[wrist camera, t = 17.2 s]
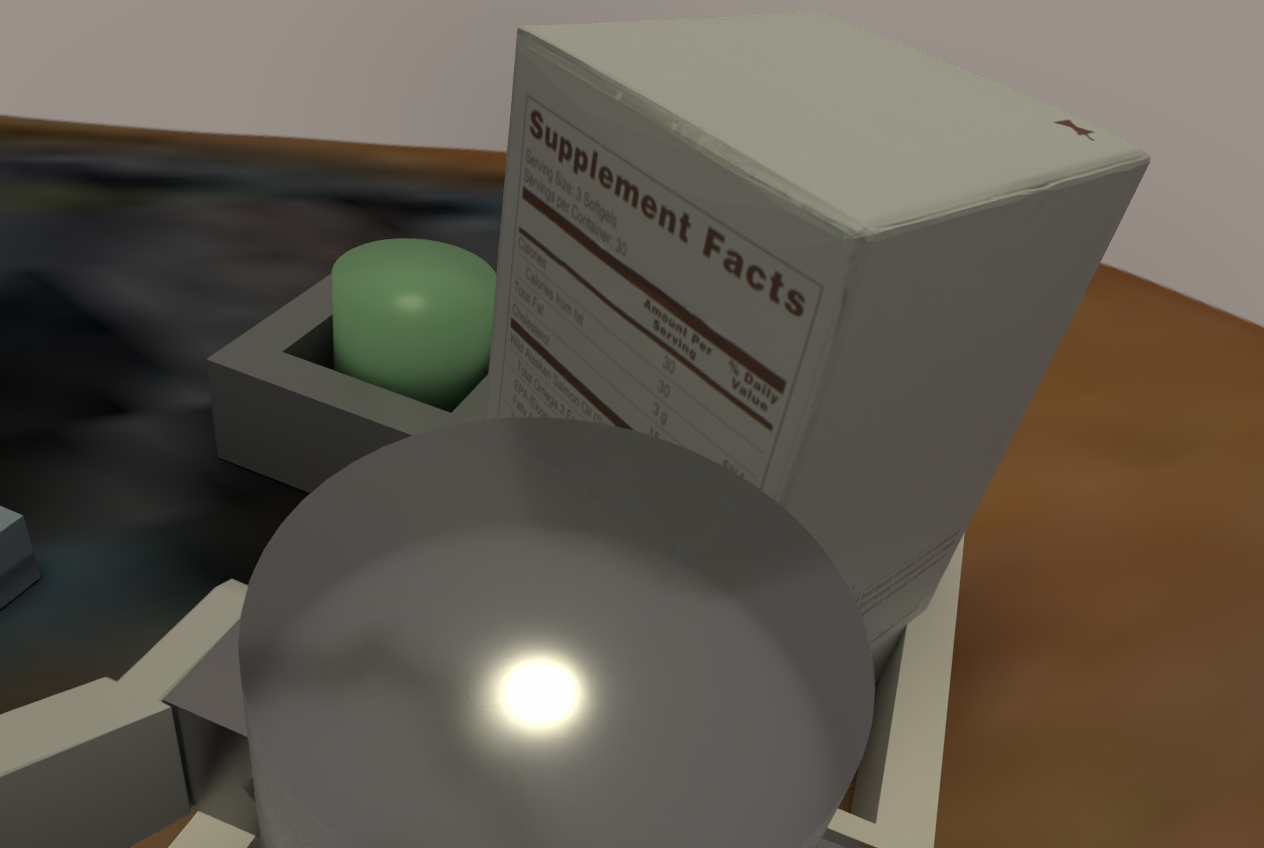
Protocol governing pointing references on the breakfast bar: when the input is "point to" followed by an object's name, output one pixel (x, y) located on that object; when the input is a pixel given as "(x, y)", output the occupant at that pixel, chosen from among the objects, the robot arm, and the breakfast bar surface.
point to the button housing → (309, 399)
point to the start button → (414, 318)
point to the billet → (549, 652)
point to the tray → (15, 557)
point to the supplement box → (797, 267)
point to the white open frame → (894, 755)
